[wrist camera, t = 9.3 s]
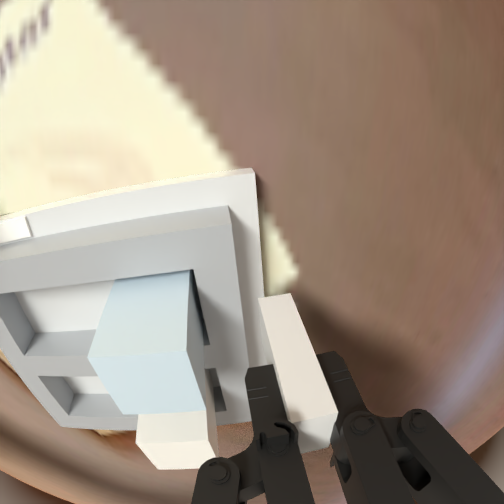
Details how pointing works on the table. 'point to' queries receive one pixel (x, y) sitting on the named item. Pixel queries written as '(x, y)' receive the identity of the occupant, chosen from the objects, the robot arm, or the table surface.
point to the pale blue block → (152, 344)
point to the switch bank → (125, 266)
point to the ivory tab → (180, 435)
